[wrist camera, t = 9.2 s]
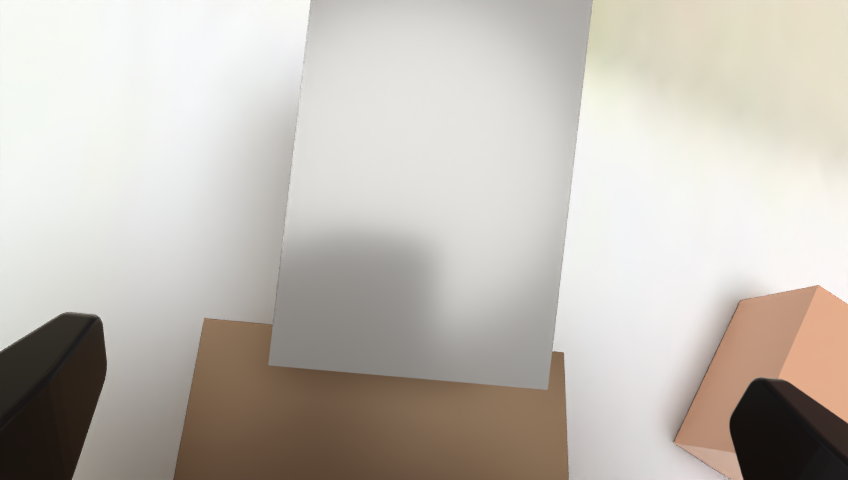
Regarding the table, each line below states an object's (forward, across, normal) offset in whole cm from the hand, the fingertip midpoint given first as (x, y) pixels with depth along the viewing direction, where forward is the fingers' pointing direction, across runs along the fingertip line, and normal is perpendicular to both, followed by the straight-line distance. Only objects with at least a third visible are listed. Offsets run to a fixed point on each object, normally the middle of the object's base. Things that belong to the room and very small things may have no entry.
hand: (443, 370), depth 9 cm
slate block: (+4, 0, +3) cm, 5 cm away
